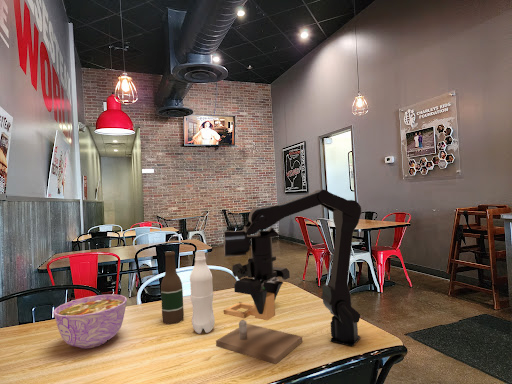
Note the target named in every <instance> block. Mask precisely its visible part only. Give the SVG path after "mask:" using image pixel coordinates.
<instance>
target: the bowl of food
mask: <svg viewBox="0 0 512 384" xmlns="http://www.w3.org/2000/svg"><path fill="white" fill-rule="evenodd" d="M127 302H128V299H127V297H126V296H124V295H121V294H100V295H93V296H91V295H90V296H87V297H82V298H77V299H74V300H71V301H68V302H65V303H62V304H60V305H59V306H57V307H55V308H54V310H53V312H52V314H53V317H54V319H55V320H54V321H55V322H56V325H57V328H58V331H59V334H60V336H61V338H62V340H63V341H64V342H65V343H66V344H67V345H68V346H71V347H77V348H79V349H93V348H96V347H99V346H102V345H104V344H106V343H107V342H108V341H109V340H110V339H112V338H113V337H115V336H116V335H117V333H118V332H119V331H120V329H121V328H122V326H123V322H124V318H125V313H126V307H127ZM107 340H108V341H107Z"/></svg>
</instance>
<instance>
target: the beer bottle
mask: <svg viewBox="0 0 512 384" xmlns="http://www.w3.org/2000/svg"><path fill="white" fill-rule="evenodd" d="M164 256H165V272H164V277H163V278H162V279H161V284H160V298H161V299H160V300H161V315H162V316H161V317H162V318H161V319H162V324H165V325H173V324H175V325H176V324H179V323H181V322H183V321H184V319H185V317H184V315H185V313H184V310H185V309H184V296H183V295H184V294H183V293H184V292H183V291H184V290H183V282H182V281H181V277H180V276H179V274H178V273H177V267H176V266H177V265H176V259H175V258H176V257H175V256H176V252H175V251H174V250H171V251H170V250H169V251H165V253H164Z"/></svg>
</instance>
